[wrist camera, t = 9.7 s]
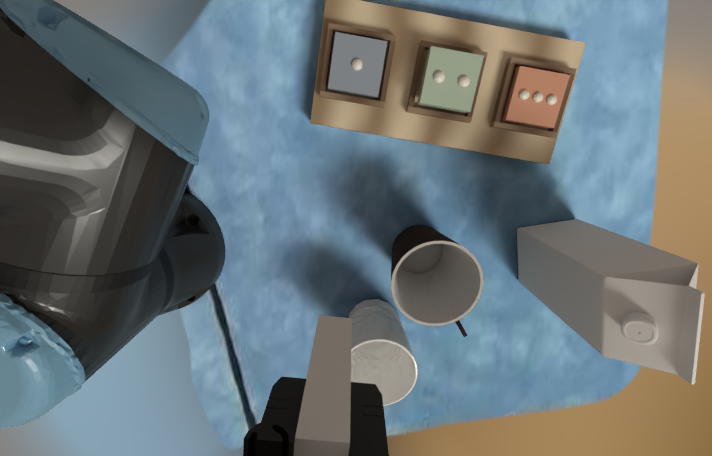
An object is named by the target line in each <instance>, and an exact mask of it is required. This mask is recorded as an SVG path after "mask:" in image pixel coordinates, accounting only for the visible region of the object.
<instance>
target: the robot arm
mask: <svg viewBox="0 0 712 456" xmlns="http://www.w3.org/2000/svg"><path fill="white" fill-rule="evenodd" d="M208 122H209V110H208V107H207V104H206V102H205V100H204V98H203V97H202V96H201V95H200V93H199V92H198V91H197V90H195V89H194V88H193V87H191V86H190V85H189V84H187V83H186V82H184V81H183V80H181V79H180V78H178V77H177V76H175V75H174V74H172V73H171V72H169V71H168V70H166V69H164V68H163V67H161V66H160V65H158V64H157V63H155V62H153V61H152V60H150V59H148V58H147V57H145V56H144V55H142V54H141V53H139V52H137V51H136V50H134V49H133V48H131V47H129V46H128V45H126V44H125V43H123V42H121V41H120V40H118V39H117V38H115V37H113V36H112V35H110V34H108V33H107V32H105V31H103V30H102V29H100V28H98V27H97V26H95V25H94V24H92V23H90V22H89V21H87V20H85V19H84V18H82V17H81V16H79V15H77V14H76V13H74V12H72V11H71V10H69V9H67V8H66V7H64V6H62V5H60V4H59V3H57V2H55V1H53V0H0V429H2V428H7V427H13V426H19V425H24V424H26V423H29V422H31V421H33V420H36V419H37V418H39V417H41V416H42V415H44V414H45V413H47V412H48V411H49V410H51V409H52V408H53V407H55V406H56V405H57V404H59V403H60V402H61V401H63V400H64V399H65V398H67V397H68V396H70V395H72V394H74V393H75V392H77V391H78V390H79V389H80V388H81V387H82V384H83V383H84V382H85V381H86V380H87V379H88V378H90V377H91V376H92V375H93V374H94V373H95V372H96V371H97V370H98V369H99V368H101V367H102V366H103V365H104V364H105V363H106V362H107V361H108V360H109V359H110V358H112V357H113V356H114V355H115V354H116V353H117V352H118V351H119V350H120V349H121V348H123V347H124V346H125V345H126V344H127V343H128V342H129V341H130V340H131V339H132V338H134V337H135V336H136V335H137V334H138V333H139V332H140V331H141V330H142V329H143V328H145V327H146V326H147V325H148V324H149V323H150V322H151V321H152V320H153V319H154V318H155V317H156V316H158V315H161V314H164V313H167V312H170V311H173V310H177V309H180V308H182V307H185V306H187V305H189V304H191V303H193V302H195V301H196V300H198V299H199V298H200V297H202V296H203V295H204V294H205V293H206V292H207V291H208V290H209V289H210V288H211V287H212V286H213V284H214V283H215V282H216V280H217V279H218V277H219V275H220V273H221V271H222V268H223V265H224V260H225V244H224V238H223V235H222V232H221V229H220V227H219V225H218V223H217V221H216V219H215V218H214V216H213V215H212V213H211V212H210V211H209V210H208V209H207V208H206V206H205V205H204V204H202V203H201V202H200V201H199V200H198V199H196V198H195V197H194V196H192V195H191V194H189V193H187V192H185V188H186V186H187V183H188V181H189V178H190V176H191V173H192V171H193V168H194V166H195V165H198V162H199V157H198V153H199V150H200V147H201V144H202V141H203V138H204V135H205V132H206V129H207V126H208ZM351 331H352V318H344V317H333V316H323V315H319V318H318V323H317V328H316V333H315V338H314V343H313V348H312V353H311V359H310V364H309V369H308V374H307V379H302V378H291V377H281V378H280V379H279V380H278V381H277V382H276V383H275V384H274V385H273V387H272V390H271V393H270V396H269V400H268V403H267V406H266V409H265V412H264V415H263V418H262V421H261V423H259V424H257V425H255V426H254V427H253V428H251V429H250V430H249V431H248V433H247V434H246V436H245V438H244V454H243V456H389V454H388V446H387V436H386V427H385V418H384V409H383V399H382V394H381V392H380V391H379V389H378V387H377V386H376V384H368V383H357V382H351Z"/></svg>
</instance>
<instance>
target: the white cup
mask: <svg viewBox="0 0 712 456" xmlns="http://www.w3.org/2000/svg"><path fill="white" fill-rule="evenodd" d="M348 318H352V331H351V382H357V383H368V384H376V386H377V387H378V389H379V391H380V392H381V394H382V399H383V406H386V405H390V404H393V403H396V402H398V401H400V400H401V399H403V398H404V397H405V396H407V395H408V394H409V392H410V391H411V390H412V389H413V387H414V385H415V383H416V379H417V365H416V361H415V358H414V356H413V353H412V350H411V347H410V344H409V340H408V337H407V335H406V332H405V330H404V327H403V325H402V323H401V321H400V319H399V316H398V312H397V311H396V310H395V309H394V308H393V307H392V305H391V304H390V303H388V302H385V301H382V300H380V299H370V300H365V301H363V302H361V303H359V304H357V305H356V306H355V307H354V308H353V310H352V311H351V312H350V313H349V317H348Z"/></svg>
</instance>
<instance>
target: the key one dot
mask: <svg viewBox="0 0 712 456" xmlns="http://www.w3.org/2000/svg"><path fill="white" fill-rule="evenodd" d="M387 42H388V41H382V40H377V39H372V38H366V37H361V36H355V35H350V34H344V33H339V32H335V39H334V46H333V53H332V61H331V68H330V76H329V83H328V89H329V90H332V91H337V92H343V93H349V94H354V95H360V96H366V97H371V98H378V94H379V88H380V83H381V77H382V71H383V65H384V59H385V53H386V48H387Z"/></svg>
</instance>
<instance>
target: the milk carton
mask: <svg viewBox="0 0 712 456" xmlns="http://www.w3.org/2000/svg"><path fill="white" fill-rule="evenodd" d="M517 251H518V275H519V282H520V283H521V284H522V285H523V286H524V287H525V288H527V289H528V290H529V291H530V292H531V293H532V294H533V295H535V296H536V297H537V298H538V299H539V300H540V301H541V302H542V303H544V304H545V305H546V306H547V307H548V308H549V309H550V310H551V311H553V312H554V313H555V314H556V315H557V316H558V317H559V318H561V319H562V320H563V321H564V322H565V323H566V324H567V325H568V326H570V327H571V328H572V329H573V330H574V331H575V332H576V333H578V334H579V335H580V336H581V337H582V338H583V339H584V340H585V341H587V342H588V343H589V344H590V345H591V346H592V347H593V348H595V349H596V350H597V351H598V352H599V353H600V354H602V355H603V356H605V357H608V358H612V359H616V360H620V361H624V362H629V363H633V364H637V365H641V366H645V367H649V368H653V369H658V370H661V371H666V372H670V373H674V374H677V375H680V376H681V377H682V378H684V379H685V380H686V381H688V382H689V383H690V384H695V376H696V367H697V358H698V350H699V341H700V331H701V322H702V313H703V304H704V294H705V293H704V292H701V291H699V290H697V289H696V284H697V274H698V263H695V262H693V261H690V260H688V259H685V258H682V257H679V256H677V255H674V254H671V253H668V252H666V251H663V250H660V249H657V248H655V247H652V246H649V245H647V244H644V243H641V242H638V241H636V240H633V239H630V238H627V237H625V236H622V235H619V234H617V233H614V232H611V231H608V230H606V229H603V228H600V227H597V226H595V225H592V224H589V223H586V222H584V221H581V220H578V219H573V220H567V221H560V222H554V223H547V224H540V225H534V226H527V227H520V228H517Z"/></svg>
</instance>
